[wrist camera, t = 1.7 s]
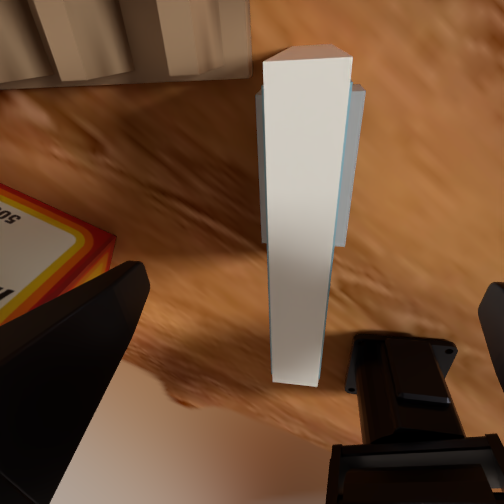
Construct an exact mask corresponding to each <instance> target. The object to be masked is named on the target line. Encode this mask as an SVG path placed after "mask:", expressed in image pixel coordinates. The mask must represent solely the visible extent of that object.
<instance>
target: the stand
mask: <svg viewBox="0 0 504 504" xmlns="http://www.w3.org/2000/svg"><path fill="white" fill-rule="evenodd" d="M365 93H366V91H365V90H364V88H363V87H362V86H361V85H360V84H352V93H351V102H350V111H349V120H348V129H347V138H346V147H345V156H344V165H343V174H342V183H341V192H340V201H339V210H338V219H337V227H336V236H335V245H334V246H343V247H345V242H346V234H347V227H348V219H349V212H350V205H351V197H352V190H353V182H354V175H355V167H356V160H357V152H358V145H359V137H360V130H361V123H362V115H363V108H364V100H365ZM255 99H256V122H257V144H258V167H259V189H260V212H261V234H262V243H267V235H266V206H265V176H264V147H263V117H262V89H261V90H260V91H259V92H258V93H257V94H256V95H255Z"/></svg>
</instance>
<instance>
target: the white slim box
mask: <svg viewBox="0 0 504 504" xmlns="http://www.w3.org/2000/svg"><path fill="white" fill-rule="evenodd" d="M352 61H353V57H352V56H351V55H349V54H347V53H346V52H344V51H342V50H341V49H339V48H337V47H336V46H334V45H332V44H321V45H304V46H291V47H290V48H288V49H286V50H284V51H282V52H280V53H278V54H276V55H275V56H273V57H271V58H269V59H267V60H265V61H263V81H264V84H263V85H262V86H261V88H262V117H263V147H264V176H265V206H266V235H267V264H268V294H269V323H270V353H271V374H272V377H273V382H278V383H287V384H296V385H304V386H313V387H317V386H318V379H320V371H321V362H322V353H323V344H324V335H325V326H326V317H327V308H328V299H329V290H330V281H331V272H332V263H333V254H334V245H335V236H336V227H337V219H338V210H339V201H340V192H341V183H342V174H343V165H344V156H345V147H346V138H347V129H348V120H349V111H350V102H351V93H352V84H353V82H352V80H351V70H352Z"/></svg>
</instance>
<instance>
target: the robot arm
mask: <svg viewBox="0 0 504 504" xmlns="http://www.w3.org/2000/svg"><path fill="white" fill-rule="evenodd" d="M149 291H150V282H149V279H148V276H147V273H146V269H145V266H144V264H143V263H142V262H140V261H126V262H124V263H122V264H120V265H118V266H116V267H115V268H113V269H111V270H109V271H107V272H105V273H103V274H101V275H99V276H97V277H95V278H93V279H91V280H89V281H87V282H85V283H83V284H81V285H79V286H77V287H76V288H74V289H72V290H70V291H68V292H66V293H64V294H62V295H60V296H58V297H56V298H54V299H52V300H50V301H48V302H46V303H44V304H42V305H40V306H38V307H36V308H35V309H33V310H31V311H29V312H27V313H25V314H23V315H21V316H19V317H17V318H15V319H13V320H11V321H9V322H7V323H5V324H3V325H1V326H0V504H50V502H51V499H52V498H53V495H54V494H55V491H56V489H57V487H58V485H59V483H60V481H61V479H62V477H63V475H64V473H65V471H66V469H67V467H68V465H69V463H70V461H71V459H72V457H73V455H74V453H75V451H76V449H77V447H78V445H79V443H80V441H81V439H82V437H83V435H84V433H85V431H86V429H87V427H88V425H89V423H90V421H91V419H92V417H93V415H94V413H95V411H96V409H97V407H98V405H99V403H100V401H101V399H102V397H103V395H104V393H105V391H106V389H107V387H108V385H109V383H110V381H111V379H112V377H113V375H114V373H115V371H116V369H117V367H118V365H119V363H120V361H121V359H122V357H123V355H124V353H125V351H126V349H127V347H128V345H129V343H130V341H131V339H132V337H133V334H134V332H135V329H136V326H137V324H138V321H139V318H140V316H141V313H142V310H143V308H144V305H145V302H146V299H147V297H148V294H149ZM478 316H479V320H480V323H481V326H482V330H483V333H484V336H485V340H486V343H487V347H488V350H489V353H490V357H491V360H492V363H493V366H494V369H495V372H496V375H497V377H498V380H499V382H500V385H501V387H502V389H503V392H504V282H493V283H491V284H490V285H489V287H488V289H487V291H486V293H485V295H484V297H483V299H482V301H481V303H480V305H479V308H478ZM457 352H458V350H457V347H456V345H455V344H454V343H453V342H448V341H436V340H425V339H413V338H402V337H391V336H379V335H368V334H358V335H355V336H354V338H353V343H352V348H351V353H350V358H349V364H348V369H347V374H346V379H345V391H346V392H347V393H351V394H357V398H358V407H359V415H360V424H361V433H362V441H363V444H361V445H346V446H343V445H342V444H335V445H333V446H332V455H331V459H330V465H329V474H328V484H327V495H326V504H504V447H503V445H502V443H501V441H500V439H499V437H498V435H497V433H496V434H485V436H482V437H466V435H465V432H464V430H463V427H462V424H461V422H460V419H459V416H458V414H457V411H456V408H455V406H454V403H453V400H452V398H451V395H450V392H449V390H448V387H447V384H446V382H445V377H446V375H447V373H448V371H449V369H450V367H451V365H452V363H453V361H454V359H455V356H456V354H457ZM491 488H501V489H502V492H492V489H491Z"/></svg>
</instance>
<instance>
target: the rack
mask: <svg viewBox="0 0 504 504" xmlns="http://www.w3.org/2000/svg"><path fill="white" fill-rule="evenodd" d="M252 76H253V69H252V47H251V26H250V5H249V0H0V90H1V89H24V88H46V87H68V86H90V85H112V84H134V83H156V82H178V81H200V80H222V79H244V78H250V77H252Z"/></svg>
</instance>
